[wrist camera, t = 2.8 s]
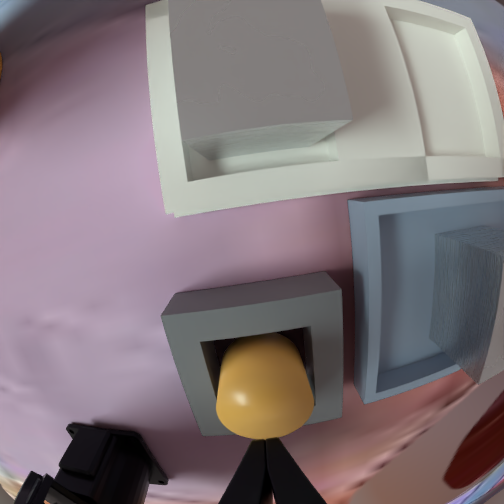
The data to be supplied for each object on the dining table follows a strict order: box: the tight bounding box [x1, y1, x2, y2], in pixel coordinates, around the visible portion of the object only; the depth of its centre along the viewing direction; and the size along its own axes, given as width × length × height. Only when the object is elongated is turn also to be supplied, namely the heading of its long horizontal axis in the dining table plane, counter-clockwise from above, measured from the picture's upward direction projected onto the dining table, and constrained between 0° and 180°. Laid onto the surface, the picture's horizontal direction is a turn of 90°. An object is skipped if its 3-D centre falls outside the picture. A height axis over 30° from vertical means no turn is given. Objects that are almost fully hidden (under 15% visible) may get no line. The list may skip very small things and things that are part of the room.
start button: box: [216, 332, 314, 439], centre depth 11 cm, size 4×4×3 cm
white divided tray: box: [145, 0, 504, 218], centre depth 10 cm, size 10×17×2 cm, turn 99°
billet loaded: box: [168, 0, 353, 161], centre depth 8 cm, size 6×4×5 cm, turn 9°
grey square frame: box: [161, 271, 343, 436], centre depth 13 cm, size 7×7×2 cm
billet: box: [429, 225, 504, 385], centre depth 11 cm, size 6×4×5 cm, turn 9°
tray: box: [348, 186, 504, 404], centre depth 12 cm, size 10×13×2 cm
